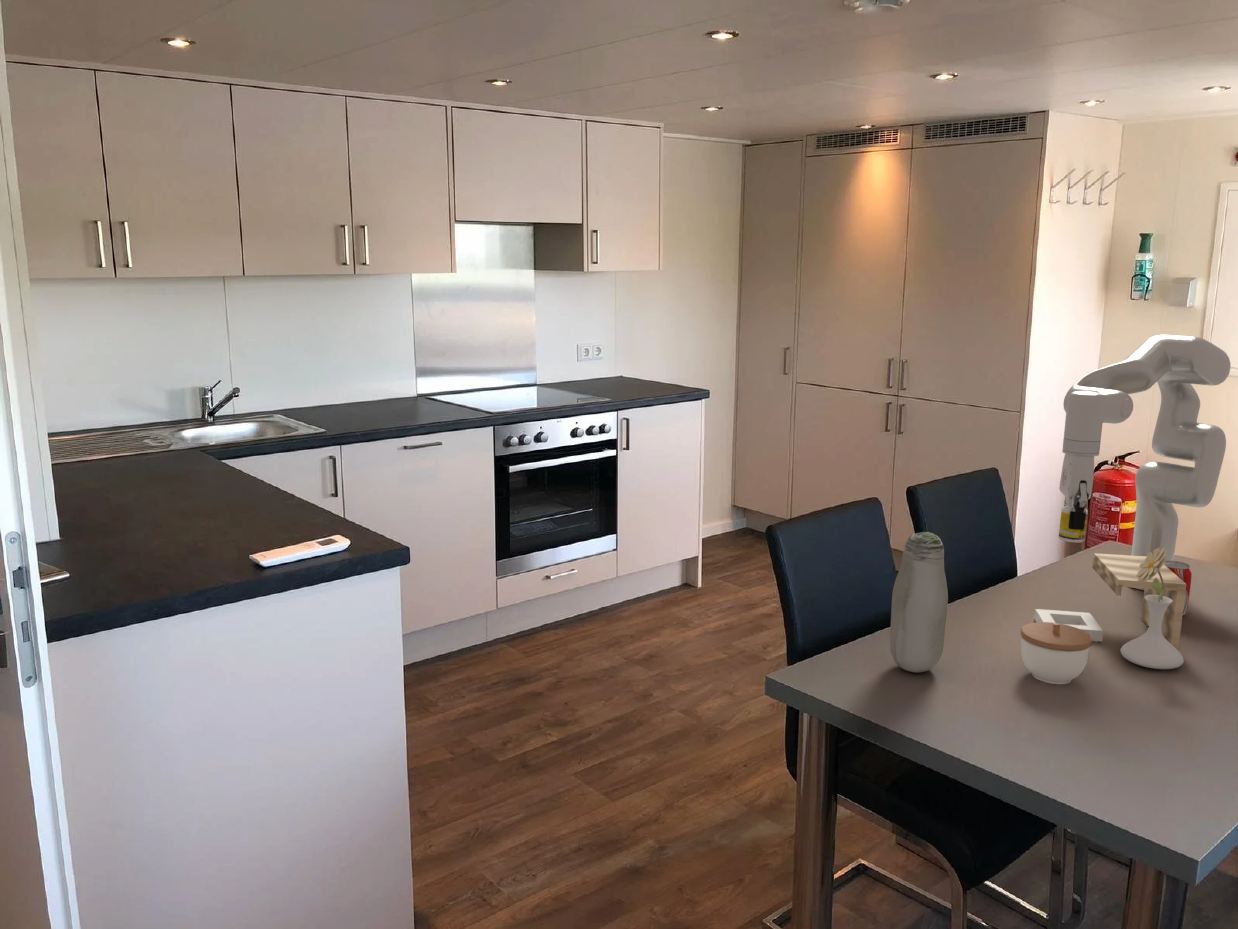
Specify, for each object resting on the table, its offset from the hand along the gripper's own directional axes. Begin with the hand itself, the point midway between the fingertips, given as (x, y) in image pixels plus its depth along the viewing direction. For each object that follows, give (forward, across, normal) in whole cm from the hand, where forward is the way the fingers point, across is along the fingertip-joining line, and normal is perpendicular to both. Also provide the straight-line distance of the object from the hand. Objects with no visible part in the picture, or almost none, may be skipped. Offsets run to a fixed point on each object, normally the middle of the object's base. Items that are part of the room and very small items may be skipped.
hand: (1073, 524), depth 223 cm
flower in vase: (+22, +26, +11) cm, 36 cm away
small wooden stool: (+22, +8, +12) cm, 26 cm away
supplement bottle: (+4, 0, 0) cm, 4 cm away
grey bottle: (+22, +40, -36) cm, 58 cm away
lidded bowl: (+22, +38, -10) cm, 45 cm away
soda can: (+22, -8, +25) cm, 34 cm away
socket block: (+22, +10, -1) cm, 24 cm away
